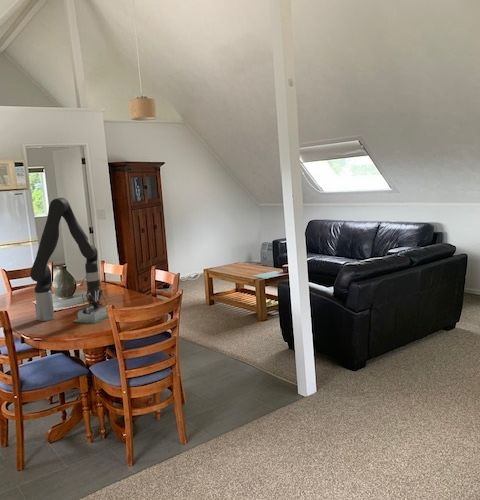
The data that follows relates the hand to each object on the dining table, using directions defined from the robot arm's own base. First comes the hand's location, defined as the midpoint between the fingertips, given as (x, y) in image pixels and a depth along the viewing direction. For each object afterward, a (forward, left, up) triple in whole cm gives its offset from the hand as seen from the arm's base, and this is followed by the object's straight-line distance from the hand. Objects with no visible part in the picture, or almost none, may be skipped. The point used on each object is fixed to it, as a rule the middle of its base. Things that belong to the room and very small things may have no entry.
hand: (95, 307), depth 297 cm
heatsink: (0, -2, -6) cm, 6 cm away
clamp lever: (0, -2, -1) cm, 3 cm away
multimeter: (-15, +18, -6) cm, 24 cm away
